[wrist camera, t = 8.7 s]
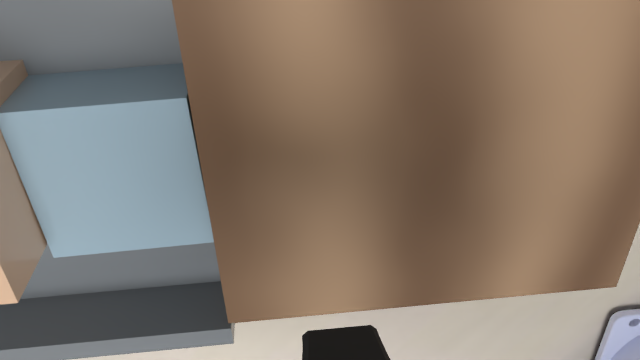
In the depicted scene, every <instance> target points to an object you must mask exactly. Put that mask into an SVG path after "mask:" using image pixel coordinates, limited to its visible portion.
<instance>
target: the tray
mask: <svg viewBox="0 0 640 360" xmlns="http://www.w3.org/2000/svg"><path fill="white" fill-rule="evenodd" d="M11 60H23V62H24V65H25V68H26V71H27V74H28V75H40V74H53V73H65V72H78V71H90V70H103V69H116V68H128V67H141V66H153V65H166V64H178V63H183V62H182V56H181V51H180V45H179V39H178V34H177V28H176V22H175V17H174V11H173V5H172V0H0V61H11ZM234 325H235V323H228V319H227V313H226V307H225V302H224V296H223V290H222V285H221V279H220V273H219V268H218V262H217V256H216V250H215V245H214V242H211V243H201V244H191V245H180V246H170V247H160V248H150V249H140V250H129V251H119V252H109V253H99V254H88V255H78V256H68V257H58V258H53V255H52V253H51V250H50V248H49V245H48V243H47V245H46V247H45V249H44V251H43V254H42V256H41V258H40V260H39V262H38V264H37V266H36V268H35V270H34V272H33V274H32V276H31V278H30V280H29V282H28V284H27V286H26V288H25V290H24V292H23V294H22V296H21V298H20V300H19V302H18V303H12V304H1V305H0V360H67V359H78V358H88V357H98V356H109V355H119V354H129V353H140V352H150V351H160V350H171V349H181V348H191V347H202V346H212V345H222V344H233V343H234Z"/></svg>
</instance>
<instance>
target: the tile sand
mask: <svg viewBox="0 0 640 360" xmlns="http://www.w3.org/2000/svg"><path fill="white" fill-rule="evenodd" d="M27 76H28V74H27V71H26V68H25V65H24V62H23V60H11V61H0V107H1V105H2V104H3V103H4V102H5V101H6V100H7V99H8V98H9V96H10V95H11V94H12V93H13V92H14V91H15V90H16V89H17V87H18V86H19V85H20V84H21V83H22V82H23V81H24V80H25V78H26V77H27ZM46 245H47V241H46V238H45V236H44V233H43V231H42V228H41V226H40V224H39V221H38V219H37V216H36V214H35V212H34V209H33V207H32V204H31V202H30V199H29V197H28V195H27V192H26V190H25V187H24V185H23V183H22V180H21V178H20V175H19V173H18V170H17V168H16V166H15V163H14V161H13V158H12V156H11V153H10V151H9V149H8V146H7V144H6V141H5V139H4V137H3V134H2V132H1V129H0V305H1V304H12V303H18V302H19V300H20V298H21V296H22V294H23V292H24V290H25V288H26V286H27V284H28V282H29V280H30V278H31V276H32V274H33V272H34V270H35V268H36V266H37V264H38V262H39V260H40V258H41V256H42V254H43V251H44V249H45V247H46Z"/></svg>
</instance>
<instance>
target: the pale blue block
mask: <svg viewBox="0 0 640 360" xmlns="http://www.w3.org/2000/svg"><path fill="white" fill-rule="evenodd" d="M0 129H1V132H2V134H3V137H4V139H5V141H6V144H7V146H8V149H9V151H10V153H11V156H12V158H13V161H14V163H15V166H16V168H17V170H18V173H19V175H20V178H21V180H22V183H23V185H24V187H25V190H26V192H27V195H28V197H29V199H30V202H31V204H32V207H33V209H34V212H35V214H36V216H37V219H38V221H39V224H40V226H41V228H42V231H43V233H44V236H45V238H46V241H47V243H48V245H49V248H50V250H51V253H52V255H53V258H58V257H68V256H78V255H88V254H99V253H109V252H119V251H129V250H140V249H150V248H160V247H170V246H180V245H191V244H201V243H211V242H214V239H213V233H212V228H211V222H210V216H209V210H208V205H207V199H206V193H205V188H204V182H203V176H202V171H201V165H200V159H199V153H198V148H197V142H196V136H195V131H194V125H193V119H192V113H191V108H190V102H189V96H188V91H187V85H186V79H185V74H184V68H183V63H178V64H166V65H153V66H141V67H128V68H116V69H103V70H90V71H78V72H65V73H53V74H40V75H28V76H27V77H26V78H25V80H24V81H23V82H22V83H21V84H20V85H19V86H18V87H17V89H16V90H15V91H14V92H13V93H12V94H11V95H10V96H9V98H8V99H7V100H6V101H5V102H4V103H3V104H2V105H1V107H0Z"/></svg>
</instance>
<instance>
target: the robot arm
mask: <svg viewBox="0 0 640 360" xmlns="http://www.w3.org/2000/svg"><path fill="white" fill-rule="evenodd" d="M302 340H303V355H302V360H390V358H389V356H388V354H387V352H386V350H385V348H384V346H383V344H382V341H381V339H380V337H379V335H378V332H377V329H376V328H374V327H373V326H371V325H367V326H356V327H345V328H335V329H324V330H313V331H307V332H306V333H305V334H304V335H303V336H302ZM595 360H640V309H632V310H622V311H618V312H616V313H614V314H613V315H612V316H611V318H610V320H609V322H608V325H607V328H606V331H605V333H604V336H603V339H602V341H601V344H600V347H599V349H598V352H597V355H596V357H595Z"/></svg>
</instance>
